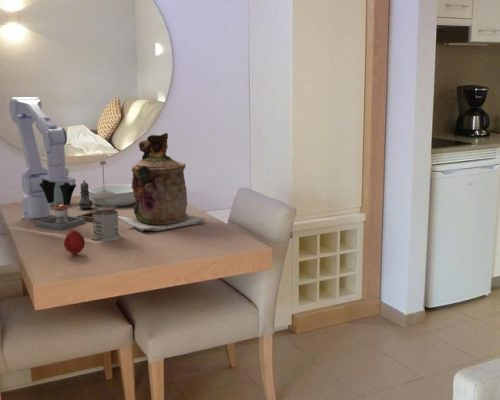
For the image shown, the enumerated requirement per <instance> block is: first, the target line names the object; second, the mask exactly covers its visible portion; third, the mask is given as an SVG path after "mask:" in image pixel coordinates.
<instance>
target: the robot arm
mask: <svg viewBox="0 0 500 400" xmlns="http://www.w3.org/2000/svg"><path fill="white" fill-rule="evenodd" d="M8 103H9V104H8V105H9V106H8V109H9V114H10V117H11V120H12V121H11V122H12V123H14V124H16V125H17V126H16V127H17V128H18V133H19V134H18V135H19V138H20V142H21V145H22V151H23V154H24V155H23V156H24V159H25V163H26V167H27V169H26V170H25V171H24V172H23V173H22V174H21V188H22V191H23V192H24V196H22V201H21V202H22V203H21V204H22V205H21V206H22V217H21V219H23V220H30V219H46V218H50V217H51V215H52V213H51V205H50V203H52V202H54V187H55V183H62V184H64V185H60V189H61V191H62V195H63V202H64V205H65V206H66V205H68V206H69V205H71V202H72V201H71V200H72V198H73V197H72V196H73V193H74V191H75V189H76V187H77V184H76V178H74V177H73V178H72V177H70V176H69V175H68V176H66V169H65V167H66V157H65V156H66V154H65V145H67V141H68V135H67V132H66V129H65V128H64V127H58V126H57V124H56V123H55V121H54V120H53V119H52V118H51V117H50V116H49V115H45V114H44V112H43V110H42V101H41V99H40V98H39V97H38V96H32V97H29V96H27V97H24V96H23V97H14V96H13V97H11V99H10V100H9V102H8ZM33 124H35V128H36V129H37V130H38V132H39V133H40V134H41V136H42V142H43V144H44V151H45V152H46V161H47V163H46V165H47V168H48V170H47V169H46V167H44V166H42V162H41V158H40V152H39V149H38V146H37V145H38V144H37V142H36V136H35V131H34V129H33Z"/></svg>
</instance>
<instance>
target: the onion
mask: <svg viewBox="0 0 500 400" xmlns="http://www.w3.org/2000/svg"><path fill="white" fill-rule="evenodd" d="M85 241H86V240H85V238H84V236H83V235H82V234H81V233H80V232H78V231H77V230H76V229H75V228H72V229H70V232H68V233H67V235H66V236H65V238H64V240H63V246H64V248H65V250H66V251H67V252H68V253H70V254H72V256H78V254H79V253H81V252H82V251H83V250H84V248H85V245H86V242H85Z"/></svg>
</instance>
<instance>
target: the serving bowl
mask: <svg viewBox="0 0 500 400" xmlns="http://www.w3.org/2000/svg"><path fill="white" fill-rule="evenodd" d="M104 189H105V190H106V191H111V192H113V193H115V194H117V197H116V198H113V199H105V205H104V202H103V206H106V205H107V206H115V207H116V208H123V207H126V206H128V205H132V204H133V203H134V204H135V201H136V199H135V196H134V194H133V189H132V183H131V184H130V183H128V184H126V183H116V184H115V183H114V184H104V185H103V184H102V185H98V186H93V187H91V188H88V190H89V198H90V200H91V201H93V203H95V204H96V205H97V201H98V206H102V202H99V199H94V198H92V195H93V194H94V193H96V192H99V191H103V190H104ZM100 201H102V200H100ZM103 201H104V200H103Z"/></svg>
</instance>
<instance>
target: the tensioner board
mask: <svg viewBox="0 0 500 400" xmlns="http://www.w3.org/2000/svg"><path fill="white" fill-rule="evenodd" d="M94 212H95V210H94V211H90V212H86V213H83V214H79V215H75V216H74V217H78V218H85V223H87V222H88V223H93V213H94ZM101 215H103V212H101ZM118 216H120V214H118ZM94 221H95V220H94Z"/></svg>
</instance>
